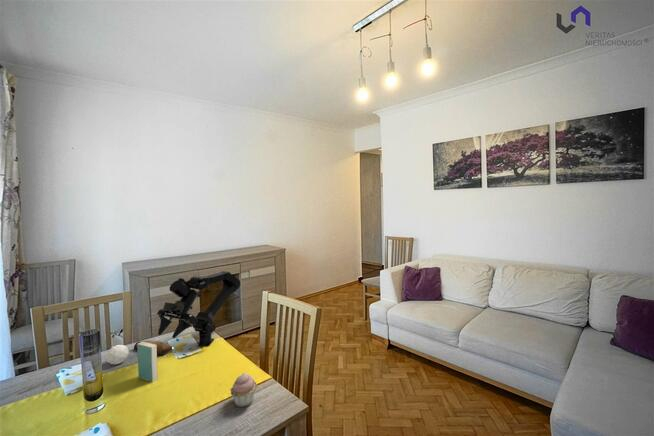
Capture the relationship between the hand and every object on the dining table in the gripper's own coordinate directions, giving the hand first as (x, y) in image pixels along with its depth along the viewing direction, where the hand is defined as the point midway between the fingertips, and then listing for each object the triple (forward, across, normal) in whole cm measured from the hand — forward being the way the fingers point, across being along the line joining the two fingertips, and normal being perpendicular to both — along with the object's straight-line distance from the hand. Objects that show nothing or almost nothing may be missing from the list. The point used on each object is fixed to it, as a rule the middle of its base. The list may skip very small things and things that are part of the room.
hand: (165, 336), depth 118 cm
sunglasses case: (+4, -18, +16) cm, 25 cm away
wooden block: (+16, 0, +3) cm, 16 cm away
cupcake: (+14, +44, +6) cm, 46 cm away
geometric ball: (+14, -22, +6) cm, 27 cm away
